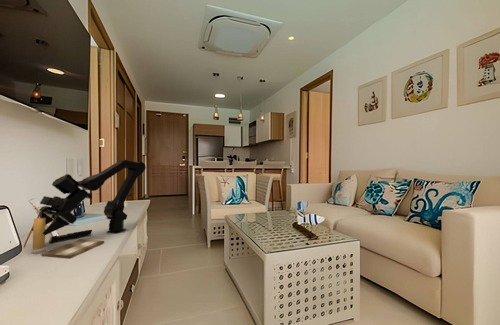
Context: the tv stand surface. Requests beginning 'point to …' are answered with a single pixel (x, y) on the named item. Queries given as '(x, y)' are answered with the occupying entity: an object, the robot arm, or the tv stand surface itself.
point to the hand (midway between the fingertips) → (38, 232)
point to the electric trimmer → (69, 236)
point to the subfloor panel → (73, 248)
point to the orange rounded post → (38, 236)
